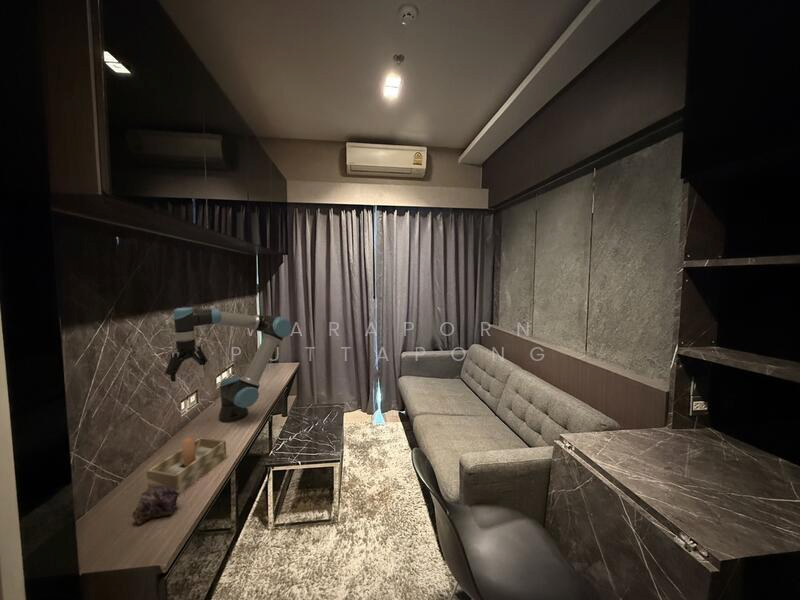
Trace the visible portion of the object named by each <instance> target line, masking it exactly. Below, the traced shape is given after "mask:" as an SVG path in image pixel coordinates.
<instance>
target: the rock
mask: <svg viewBox="0 0 800 600" xmlns="http://www.w3.org/2000/svg"><path fill="white" fill-rule="evenodd" d="M178 494H179V493H178V492H176V491H175V490H174V488H172V487H169V486H156V487H152V488H151V489H147V490H145V492H142V493H141V495H140V497H139V501H138V503H137V505H136V507H135V510H134V511H133V512H132V514H131V516H132V518H133V520H135V521H136V523H137V524H138V525H139V524H144V523H146V522H147V521H148V520H151V519H153V518H154V519H158V518H160V517H161V516H170V515H172V514H174V512H175V510H176V506H177V500H178V497H179V495H180V494H179V495H178Z"/></svg>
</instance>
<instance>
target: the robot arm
mask: <svg viewBox="0 0 800 600" xmlns="http://www.w3.org/2000/svg"><path fill="white" fill-rule="evenodd" d="M173 323H174V329H175V330H174V332H175V340H176V341H175V345H176V346H175V347H176V349H177V352H171V353H170V359H169V362H168V365H167V367H166V370H165V373H164V374H165V375H169V376H170V381H171V382H172V385H171V386H172V388H174V389H178V388H180V385H179V384H180V383H179V374H178V371H179V369H180V368H181V365H182V364H183V362H184V361H185V360H189V359H193V360H194V361H195V362H196V363H197V376H198V378H202V379H203V378H205V374H204V373H205V365H206V363H207V362H208V359H207V357H206V355H205V353H204V351H202V350H203V349H202V347H201V346H200V345H196V332H195V327H200V326H208V325H209V326H210V325H219V326H220V325H221V326H227V327H228V326H229V327H237V328H246V329H251V330H252V331H257V332H260V333H262V336H263V339H262V341H261V342H260V345H259V346H258V348H257V349H256V352H255V354H254V355H253V356H254V357H253V358H252V359H251V361H250V364H249V366H248V367H247V369H246V371H245V373H244V376H233V377H232V376H231V377H227V378H225V379H223V380H221V381H220V382H219V389H220V391H219V392H220V402H221V403H220V404H221V406H220V410H219V414H218V421H220V422H222V423H232V422H236V421H240V420H242V419H243V418H245V417H247V416H248V414H249V410H248V408H249V407H251V406H253V405H254V404H256V402H257V401H258V399H259V395H260V394H259V388H260V386H261V385H260V380H261V378H262V376H263V373H264V372H265V370H266V368H267V365H268V364H269V362H270V360H271V358H272V356H273V354H274V353H275V350H276V348H277V347H278V344H280V343H281V342H282V341H283V339H284V338H285V337H287V336H289V335H290V334H291V331H292V324H291V322H290V320H289V319H288V318H286V317H283V316H277V315H276V316H275V315H264V314H263V315H260V314H255V315H249V314H241V313H234V312H229V311H228V312H227V311H221V310H219V309H218V308H214V309H213V308H211V309H207V308H201V307H178V308H175V309H174V310H173Z"/></svg>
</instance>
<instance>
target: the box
mask: <svg viewBox="0 0 800 600" xmlns="http://www.w3.org/2000/svg"><path fill="white" fill-rule="evenodd" d="M226 442H227V441H226V440H221V439H215V438H208V437H199V438H197V439H196V440H195V439H194V445H195V458H196V460H195V461H194V462H192V463H191V464H190V465H188V466H187V467H185V468H184V462H183V451H182V448H181V449H179V450H178V451H176V452H175V453H173V454H172V455H170V456H168V457H167V458H165V459H163V460H162V461H160V462H159V463H157V464H156V465H154V466H152V467H151V468H149V469H147V470H146V477H147V479H146V480H147V488H148V489H151V488H152V487H156V486H169V487H172V488H174V490H175V491H176V492H178V493H179V494H178V496H179V495H180V494H182V492H184V491H186V490H187V489H188V488H189V487H190V486H192V485H194V483H195V482H197V481H199V479H200V478H202V477H203V476H205V475H206V474H207V473H208V472H210V471H211V470H213V468H215V467H216V466H217V465H219V464H220V463H222V462H223V461H224V460H226V459H227V446H226V445H227V443H226ZM148 489H147V490H148Z"/></svg>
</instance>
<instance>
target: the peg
mask: <svg viewBox="0 0 800 600" xmlns="http://www.w3.org/2000/svg"><path fill="white" fill-rule="evenodd" d="M194 441H195V437H194V436H187V437H184V438H183V439H182V440H181V449H182V451H183V462H184V468H185V467H187V466H188V465H190V464H191V463H192V462H194V461H195V460H196V458H195V445H194Z"/></svg>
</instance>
